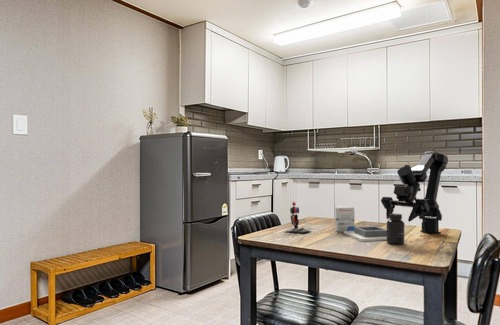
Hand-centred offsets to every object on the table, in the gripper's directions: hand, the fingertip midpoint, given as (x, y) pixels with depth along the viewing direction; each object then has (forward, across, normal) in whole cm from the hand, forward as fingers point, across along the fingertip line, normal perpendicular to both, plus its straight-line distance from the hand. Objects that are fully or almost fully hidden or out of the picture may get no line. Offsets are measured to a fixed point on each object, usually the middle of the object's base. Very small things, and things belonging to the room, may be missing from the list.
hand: (397, 219), depth 146 cm
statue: (+15, -44, -1) cm, 47 cm away
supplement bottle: (+8, 0, +5) cm, 10 cm away
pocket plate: (+4, -14, +9) cm, 17 cm away
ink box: (+2, -30, +12) cm, 32 cm away
